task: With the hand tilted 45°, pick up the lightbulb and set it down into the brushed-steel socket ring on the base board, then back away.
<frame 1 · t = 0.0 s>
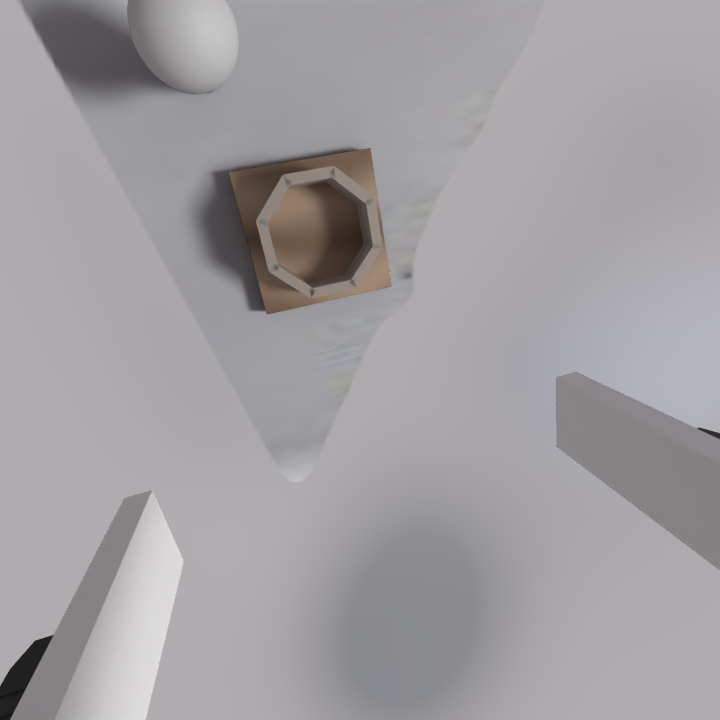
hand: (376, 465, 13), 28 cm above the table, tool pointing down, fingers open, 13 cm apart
lightbulb: (204, 78, 32), on the table
bulb socket: (314, 233, 37), on the table
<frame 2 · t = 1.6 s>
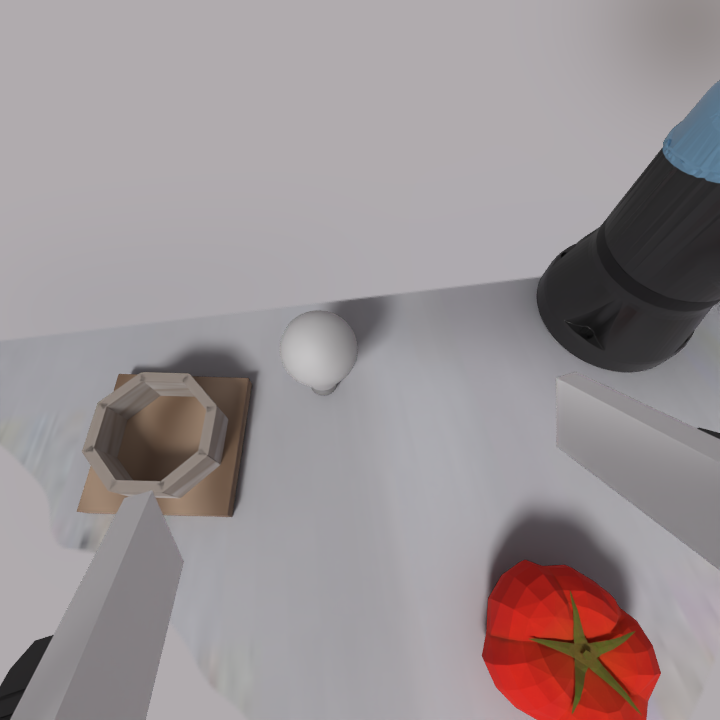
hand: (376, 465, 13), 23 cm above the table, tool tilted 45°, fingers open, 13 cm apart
tomato: (542, 637, 31), on the table
lightbulb: (324, 387, 39), on the table
bulb socket: (175, 443, 36), on the table
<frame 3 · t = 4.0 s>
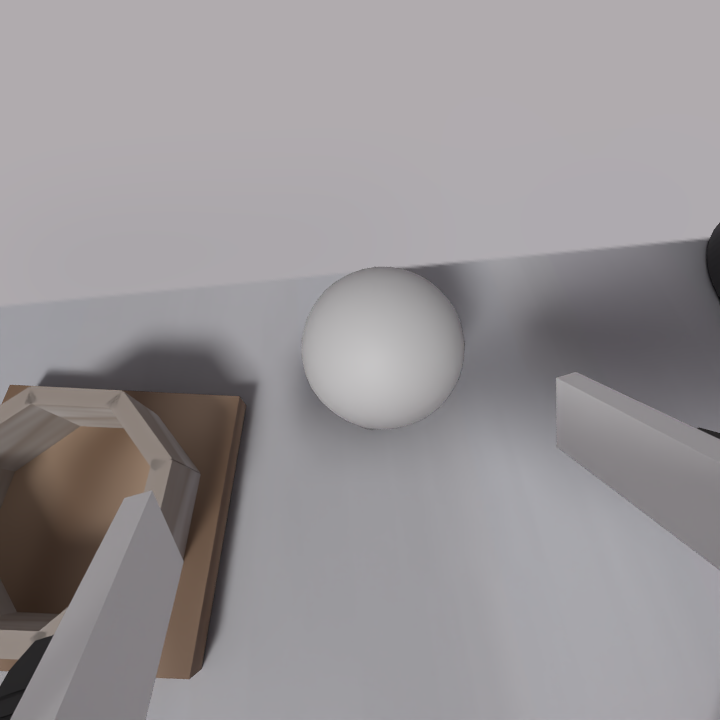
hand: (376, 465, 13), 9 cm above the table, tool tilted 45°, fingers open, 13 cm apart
lightbulb: (370, 412, 23), on the table
bulb socket: (105, 514, 20), on the table
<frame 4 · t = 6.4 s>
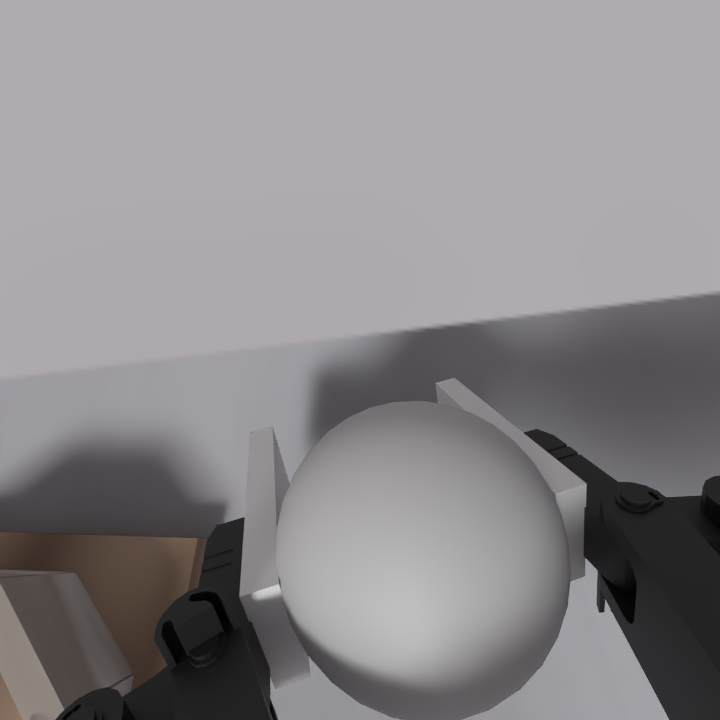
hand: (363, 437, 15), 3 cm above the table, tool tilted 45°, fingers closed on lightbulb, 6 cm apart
lightbulb: (385, 545, 16), on the table, touching gripper
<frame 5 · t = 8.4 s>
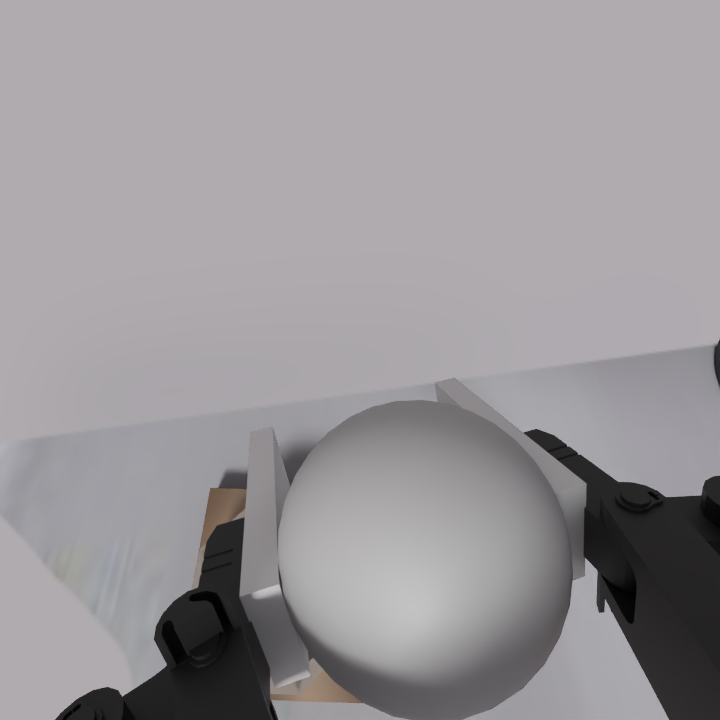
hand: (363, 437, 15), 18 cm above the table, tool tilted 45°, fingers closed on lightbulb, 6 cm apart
lightbulb: (386, 545, 16), point 14 cm above the table, touching gripper
bulb socket: (287, 583, 28), on the table
when the fingers open (6 cm above the table, at t = 10.7 s): lightbulb drops 1 cm, resting on bulb socket.
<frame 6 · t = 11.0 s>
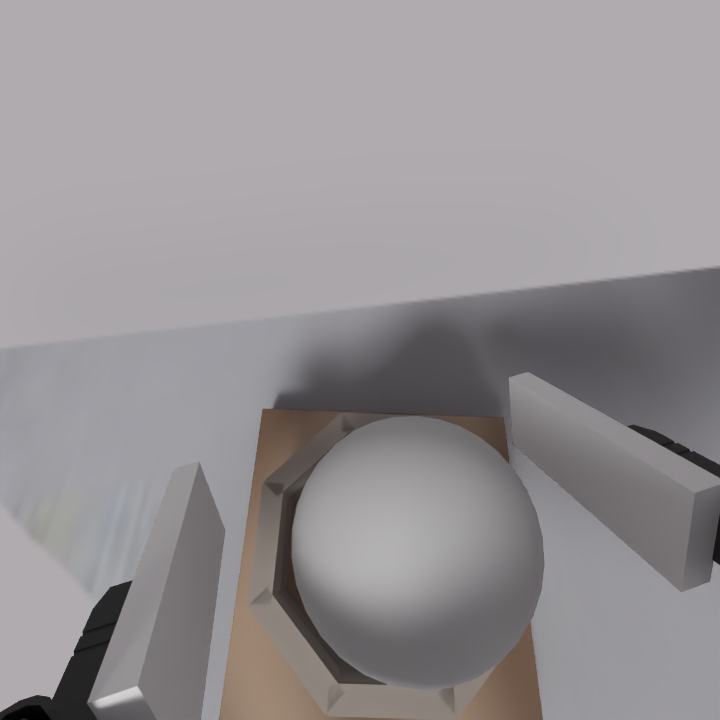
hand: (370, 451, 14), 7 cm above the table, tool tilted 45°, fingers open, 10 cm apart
lightbulb: (382, 550, 18), point 1 cm above the table, touching bulb socket
bulb socket: (380, 546, 19), on the table
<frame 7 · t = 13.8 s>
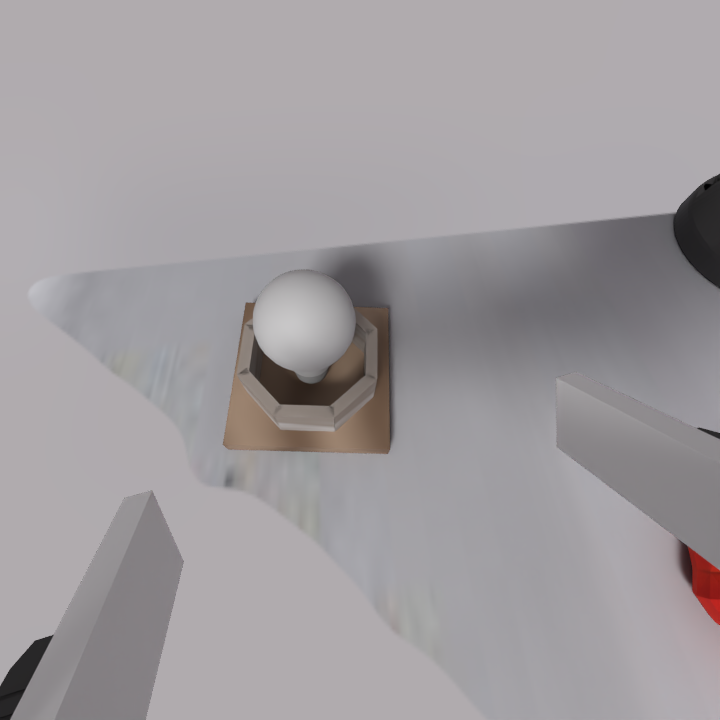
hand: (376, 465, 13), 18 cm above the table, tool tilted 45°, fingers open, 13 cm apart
lightbulb: (312, 373, 32), point 1 cm above the table, touching bulb socket
bulb socket: (313, 377, 33), on the table
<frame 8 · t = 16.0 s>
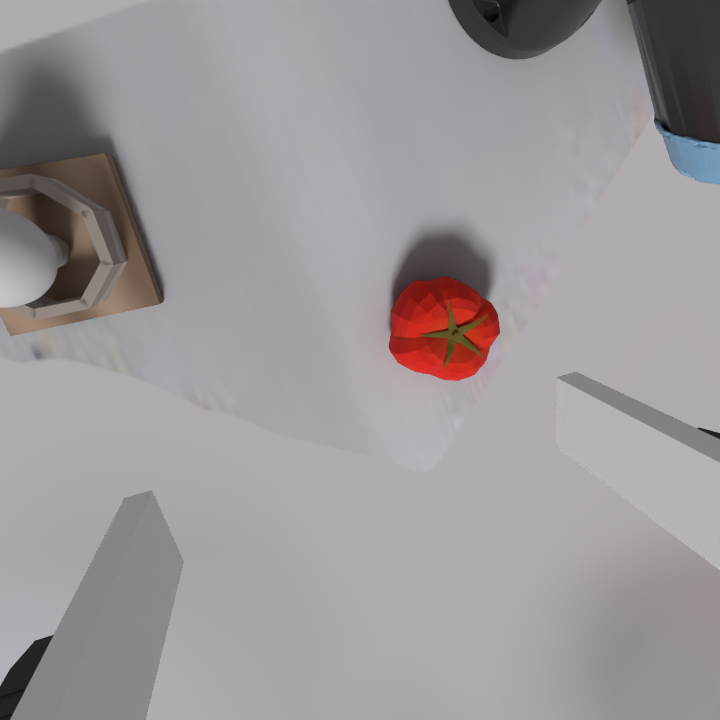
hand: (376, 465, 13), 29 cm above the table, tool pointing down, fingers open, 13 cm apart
tomato: (429, 321, 43), on the table
lightbulb: (58, 250, 33), point 1 cm above the table, touching bulb socket
bulb socket: (64, 247, 34), on the table
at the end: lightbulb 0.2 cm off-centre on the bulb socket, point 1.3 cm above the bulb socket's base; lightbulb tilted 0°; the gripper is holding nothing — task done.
